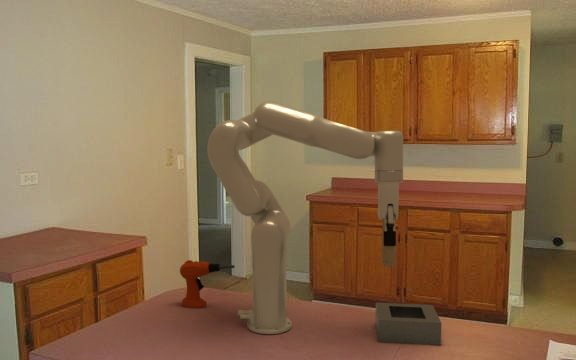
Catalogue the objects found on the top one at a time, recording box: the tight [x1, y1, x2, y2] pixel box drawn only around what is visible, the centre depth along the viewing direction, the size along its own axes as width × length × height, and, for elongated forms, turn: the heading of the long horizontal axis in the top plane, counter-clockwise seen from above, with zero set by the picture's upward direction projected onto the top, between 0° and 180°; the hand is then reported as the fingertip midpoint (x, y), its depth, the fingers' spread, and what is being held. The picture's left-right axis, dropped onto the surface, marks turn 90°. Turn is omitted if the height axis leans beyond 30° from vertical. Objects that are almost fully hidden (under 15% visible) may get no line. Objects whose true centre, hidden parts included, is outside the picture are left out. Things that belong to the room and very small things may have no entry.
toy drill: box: [179, 259, 235, 309], centre depth 160 cm, size 5×19×15 cm, turn 78°
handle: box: [381, 214, 397, 268], centre depth 138 cm, size 5×6×15 cm
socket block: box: [374, 302, 442, 346], centre depth 139 cm, size 16×14×6 cm
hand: (389, 243), depth 138 cm, fingers closed on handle, 4 cm apart
